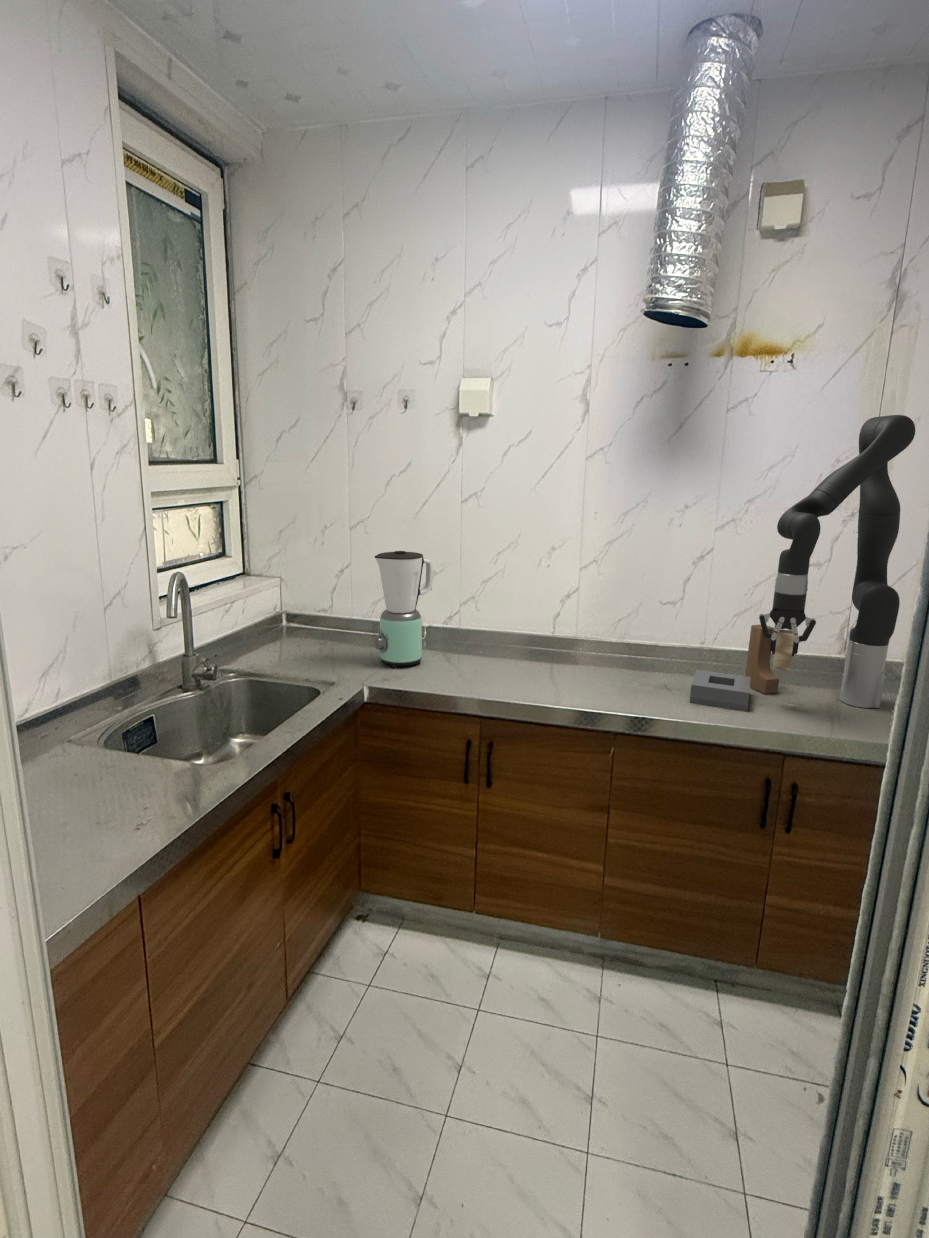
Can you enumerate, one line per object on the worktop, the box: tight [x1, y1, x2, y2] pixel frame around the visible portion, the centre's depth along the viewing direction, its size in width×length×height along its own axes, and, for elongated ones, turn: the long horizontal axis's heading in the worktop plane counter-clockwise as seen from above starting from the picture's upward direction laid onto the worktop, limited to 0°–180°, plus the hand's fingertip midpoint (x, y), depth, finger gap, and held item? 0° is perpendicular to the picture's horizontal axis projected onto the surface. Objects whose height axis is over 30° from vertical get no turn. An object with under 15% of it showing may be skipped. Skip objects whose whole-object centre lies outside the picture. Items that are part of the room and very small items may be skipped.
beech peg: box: [772, 629, 794, 672], centre depth 179 cm, size 4×4×10 cm
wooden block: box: [744, 624, 780, 695], centre depth 193 cm, size 9×4×18 cm, turn 16°
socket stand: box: [689, 669, 751, 712], centre depth 187 cm, size 14×14×5 cm
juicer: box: [373, 550, 433, 669], centre depth 210 cm, size 19×13×35 cm
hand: (782, 654), depth 179 cm, fingers closed on beech peg, 4 cm apart
